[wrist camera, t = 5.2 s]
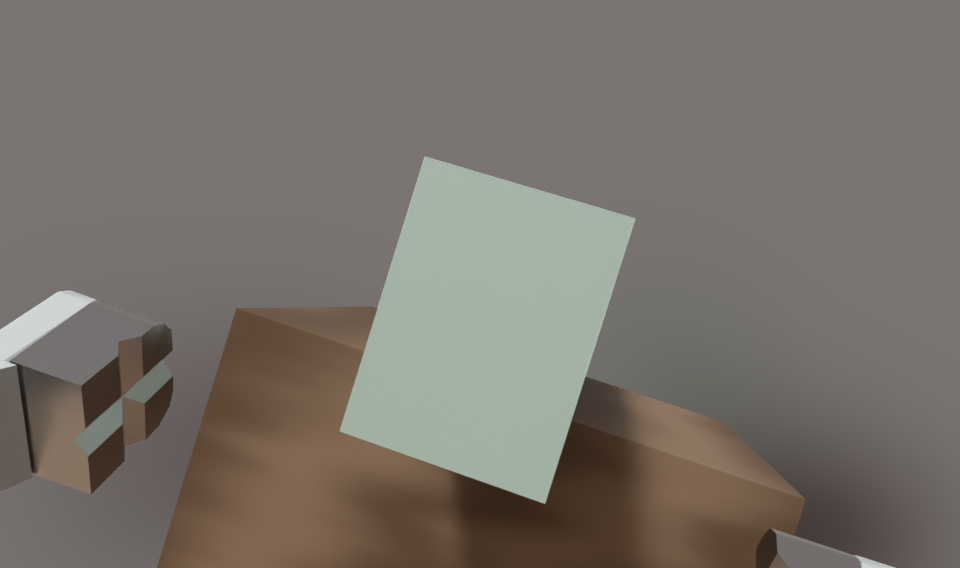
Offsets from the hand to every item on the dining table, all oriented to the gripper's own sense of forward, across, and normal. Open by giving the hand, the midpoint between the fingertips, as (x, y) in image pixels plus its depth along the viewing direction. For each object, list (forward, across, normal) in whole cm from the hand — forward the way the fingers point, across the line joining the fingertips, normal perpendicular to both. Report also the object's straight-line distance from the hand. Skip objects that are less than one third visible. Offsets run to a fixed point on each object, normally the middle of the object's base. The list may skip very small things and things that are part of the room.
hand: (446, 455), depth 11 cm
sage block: (+9, 0, +6) cm, 11 cm away
